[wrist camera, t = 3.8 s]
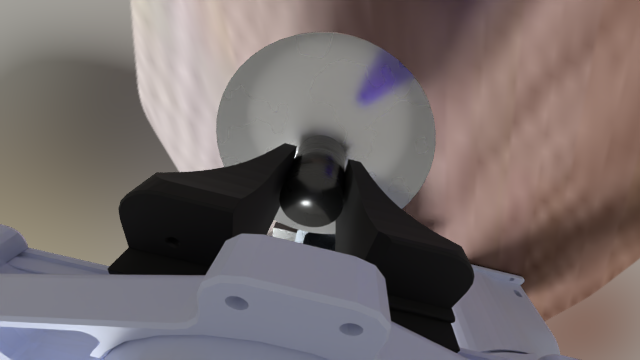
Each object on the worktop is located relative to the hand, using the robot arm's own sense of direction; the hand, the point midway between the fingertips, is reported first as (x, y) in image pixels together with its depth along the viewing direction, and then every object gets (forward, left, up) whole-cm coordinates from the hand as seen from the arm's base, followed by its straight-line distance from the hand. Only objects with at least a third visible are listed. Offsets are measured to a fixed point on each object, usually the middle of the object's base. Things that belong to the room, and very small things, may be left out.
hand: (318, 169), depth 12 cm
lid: (0, 0, -3) cm, 3 cm away
